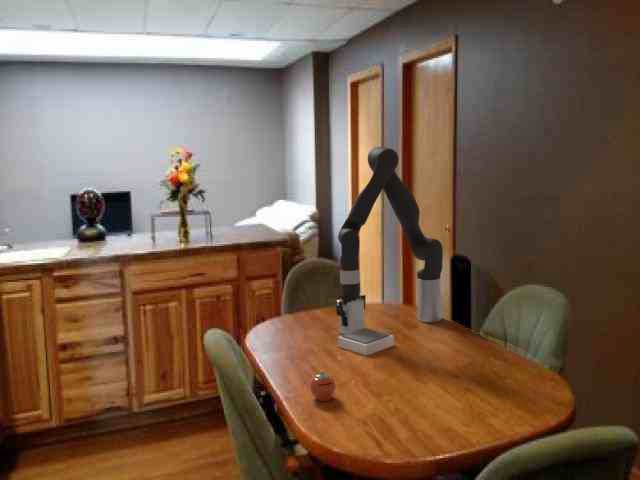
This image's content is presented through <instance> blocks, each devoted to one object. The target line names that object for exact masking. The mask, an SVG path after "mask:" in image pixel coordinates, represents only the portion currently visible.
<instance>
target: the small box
mask: <svg viewBox="0 0 640 480" xmlns="http://www.w3.org/2000/svg"><path fill="white" fill-rule="evenodd" d="M337 300H338V301H339V300H340V299H337ZM343 308H346V309H347V308H348V315H347V318H348V326H347V327H345V326H343V325H342V317H341V316H338V327H339V329H338V330H339V331H338V332H339V334H342V335H345V334H348V333H351V332H354V331H357V330H360V329H363V328H366V325H365V324H366V323H365V310H364V301H363V300H359V299H358V300H357V301H355V300H354V301H353V302H347V305H345V303H344V304H343ZM344 314H345V310H344Z"/></svg>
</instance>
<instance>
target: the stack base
mask: <svg viewBox="0 0 640 480" xmlns="http://www.w3.org/2000/svg"><path fill="white" fill-rule="evenodd" d="M394 338H395V336H394V335H393V334H390V333H386V332H381V331H378V330H374V329H370V328H366V327H365V328H363V329H360V330H357V331H354V332H351V333H348V334H342V335H340V336H337V347H339V348H341V349H345V350H347V351H350V352H353V353H357V354H359V355H360V354H361V355H363V356H368V355H372V354H374V353H377V352H379V351H382V350H385V349H388V348H390V347H394V346H395V341H394V340H395V339H394Z"/></svg>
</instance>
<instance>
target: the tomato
mask: <svg viewBox="0 0 640 480" xmlns="http://www.w3.org/2000/svg"><path fill="white" fill-rule="evenodd" d="M336 387H337V383H336V381H335V379H334V378H333V377H332V376H329V374H328V373H324V371H323V370H321V371H320V372H319V373H318V374H317V375H315V376H314V377H313V378H312V379H311V380H310V382H309V389H310V393H311V395H312V396H313V398H314V399H315V400H317V401H319V402H327V401H329V400H330V399H331V398H332V397H333V396H334V394H335V391H336V389H337V388H336Z"/></svg>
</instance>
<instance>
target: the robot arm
mask: <svg viewBox="0 0 640 480" xmlns="http://www.w3.org/2000/svg"><path fill="white" fill-rule="evenodd" d="M399 159H400V158H399V154H398V153H397V152H396V151H395V149H392V148H389V147H384V146H375V147H373V148H371V149H370V150H369V152H368V155H367V163H368V165H369V168H370V170H371V171H372V172H373V173H372V176H371V178H370V179H369V181H368V182H367V184H366V186H364V188H363V189H362V190H361V191H360V192H359V194H358V195H357V196H356V198H355V200H354V201H353V205H352V206H351V209H350V211H349V214H348V216H347V218H346V220H344V223H343V224H342V226H341V227H340V230H339V232H338V235H337V238H338V242H339V243H340V248H341V249H340V250H341V251H340V252H341V255H340V256H339V270H340V271H339V285H340V295H341V298H340V299H336V300H335V309H336V310H335V311H336V316H338V317H339V316H341V317H342V325H343V326H345V327H347V326H348V318H347V315H348V308H347V309H346V308H343V304H344V303H345V305H347V302H353V301H354V300H355V301H357V300H358V299H359V300H363V301H364V311H365V310H366V297H367V296H366V294H364V293H363V294H362V293H361V273H360V262H359V253H360V236H359V233H360V231H361V228H362V227H363V226H364V225H365V224H366V222H368V219H369V217H370V214H371V212H372V210H373V208H374V206H375V203H376V201H377V200H378V197H379V195H381V192H382V191H384V194H385V196H386V198H387V200H388V202H389V204H390V206H391V208H392V211H393V213H394V214H395V216H396V218H397V220H398V222H399V223H400V226H401V228H402V230H403V232H404V235H405V236H406V239H407V241H408V244H409V247H410V250H411V252H412V255H413V256H414V258H416V259H417V260H419V261H423V262H424V266H423V268H421V269H419V270H418V271H416V288H417V292H416V293H417V320H418V321H419V322H422V323H438V322H441V321H442V319H443V295H442V294H441V293H442V291H441V287H442V285H441V284H442V283H441V274H442V271H443V257H444V249H443V244H442V242H441V241H440V240H439V239H436V238H429V237H426V235H424V233H423V231H422V229H421V226H420V208H419V204H418V202H417V200H416V199H415V196H414V194H413V193H412V191H411V190H410V189H409V187H408V186H407V185H406V183H404V182H403V180H401V179H400V177H399V176H398V174H397V172H396V169H397V168H398V165H399V161H400V160H399ZM338 300H339V301H338ZM344 310H345V314H344Z"/></svg>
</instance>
